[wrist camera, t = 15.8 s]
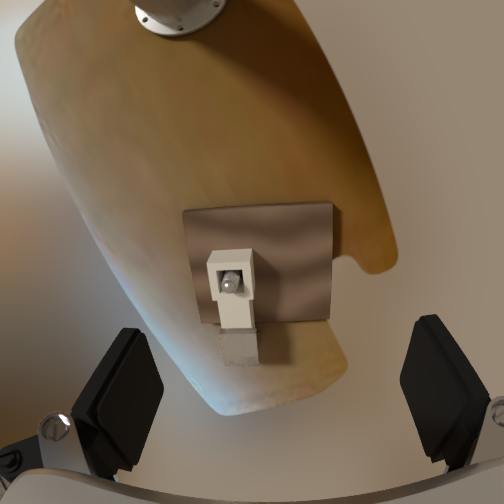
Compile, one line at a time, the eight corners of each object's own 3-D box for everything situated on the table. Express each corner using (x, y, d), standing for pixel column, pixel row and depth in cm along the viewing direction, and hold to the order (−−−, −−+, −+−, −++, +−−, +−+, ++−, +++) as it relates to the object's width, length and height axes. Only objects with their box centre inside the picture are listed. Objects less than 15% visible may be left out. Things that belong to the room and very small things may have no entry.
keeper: (224, 312, 45) (219, 334, 40) (257, 311, 45) (256, 333, 40) (229, 342, 47) (225, 365, 42) (260, 342, 47) (259, 365, 42)
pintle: (226, 261, 40) (218, 282, 35) (241, 260, 40) (236, 282, 34) (227, 274, 41) (221, 297, 35) (242, 274, 41) (237, 297, 35)
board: (185, 210, 39) (181, 213, 38) (330, 201, 38) (332, 204, 36) (203, 317, 46) (201, 323, 44) (327, 313, 44) (329, 318, 43)
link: (212, 250, 40) (206, 263, 36) (252, 248, 39) (249, 261, 36) (224, 331, 45) (221, 348, 41) (259, 330, 44) (258, 347, 40)
